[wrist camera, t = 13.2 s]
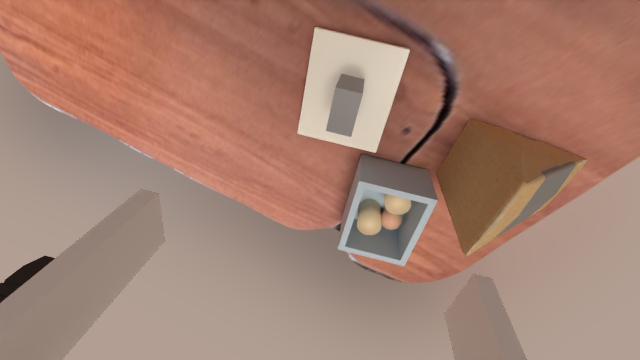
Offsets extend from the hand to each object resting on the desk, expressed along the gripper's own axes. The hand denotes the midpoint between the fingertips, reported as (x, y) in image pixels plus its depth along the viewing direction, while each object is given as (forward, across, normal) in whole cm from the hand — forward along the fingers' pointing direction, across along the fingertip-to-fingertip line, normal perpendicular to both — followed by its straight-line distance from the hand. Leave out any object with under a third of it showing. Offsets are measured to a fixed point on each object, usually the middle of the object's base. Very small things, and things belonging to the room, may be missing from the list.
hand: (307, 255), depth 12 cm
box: (+27, +8, -13) cm, 31 cm away
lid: (+26, 0, 0) cm, 26 cm away
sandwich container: (+27, +22, -5) cm, 35 cm away
